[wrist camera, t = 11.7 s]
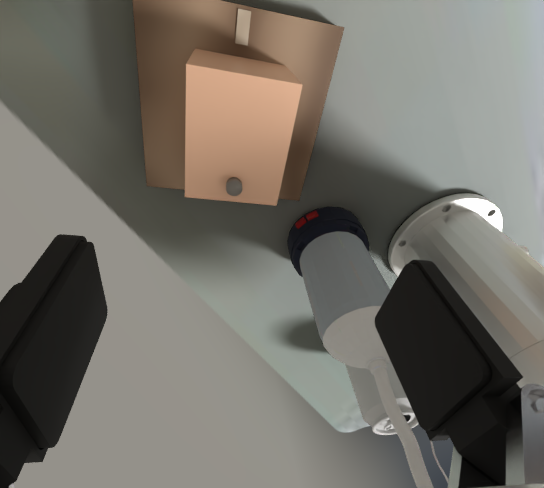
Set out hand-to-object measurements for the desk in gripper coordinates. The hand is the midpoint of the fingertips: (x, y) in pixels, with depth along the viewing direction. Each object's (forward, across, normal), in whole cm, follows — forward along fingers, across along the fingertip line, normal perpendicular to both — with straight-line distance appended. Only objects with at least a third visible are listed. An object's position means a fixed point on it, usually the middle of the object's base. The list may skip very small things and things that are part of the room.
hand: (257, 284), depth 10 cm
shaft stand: (+19, +1, 0) cm, 19 cm away
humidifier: (+20, -10, +12) cm, 25 cm away
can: (+20, -22, +31) cm, 43 cm away
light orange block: (+17, 0, 0) cm, 17 cm away
